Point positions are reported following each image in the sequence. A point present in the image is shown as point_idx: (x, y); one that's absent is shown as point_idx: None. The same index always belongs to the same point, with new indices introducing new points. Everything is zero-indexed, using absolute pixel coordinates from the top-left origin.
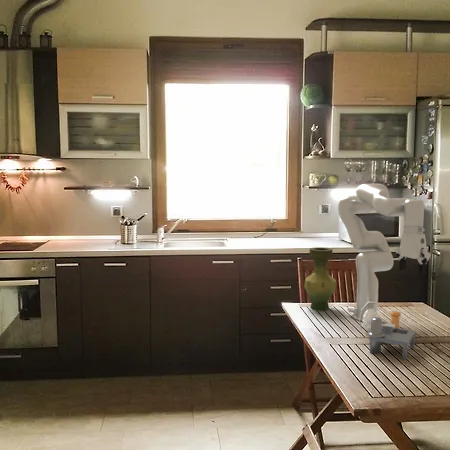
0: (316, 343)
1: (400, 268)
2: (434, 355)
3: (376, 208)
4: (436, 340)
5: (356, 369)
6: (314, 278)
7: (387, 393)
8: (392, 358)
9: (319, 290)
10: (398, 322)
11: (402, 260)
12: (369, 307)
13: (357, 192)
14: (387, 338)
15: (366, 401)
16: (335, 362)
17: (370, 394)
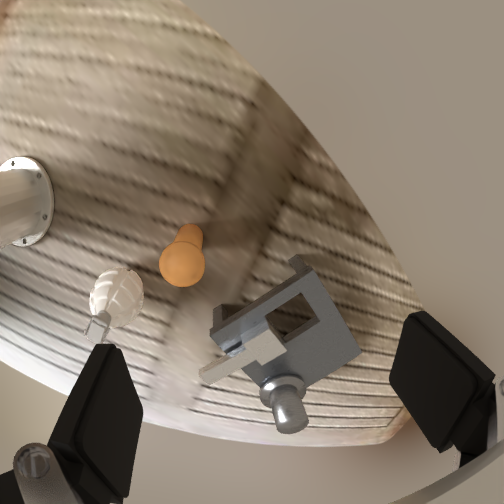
0: (177, 424)
1: (138, 422)
2: (362, 249)
3: None
4: (283, 140)
5: (320, 420)
6: None
7: (394, 410)
8: None
9: None
10: (200, 248)
11: (103, 485)
12: (106, 329)
13: None
14: (315, 378)
15: (387, 432)
16: (279, 434)
17: (381, 426)
